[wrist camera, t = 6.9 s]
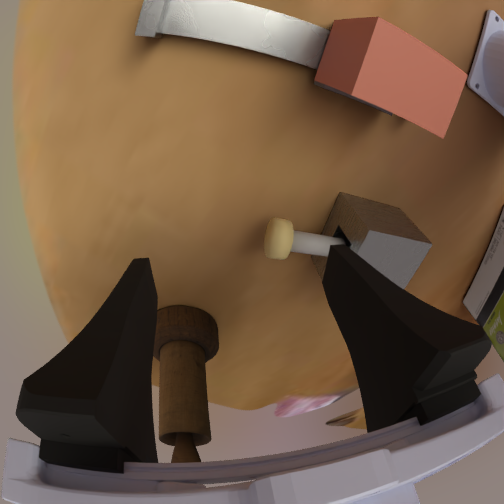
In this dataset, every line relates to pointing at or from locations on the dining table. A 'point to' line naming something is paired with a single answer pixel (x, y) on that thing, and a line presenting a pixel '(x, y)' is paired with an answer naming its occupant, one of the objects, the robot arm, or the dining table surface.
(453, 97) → the block
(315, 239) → the plunger
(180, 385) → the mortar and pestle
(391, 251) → the grey block with hole
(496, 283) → the tea box
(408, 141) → the dining table surface
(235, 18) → the rail
